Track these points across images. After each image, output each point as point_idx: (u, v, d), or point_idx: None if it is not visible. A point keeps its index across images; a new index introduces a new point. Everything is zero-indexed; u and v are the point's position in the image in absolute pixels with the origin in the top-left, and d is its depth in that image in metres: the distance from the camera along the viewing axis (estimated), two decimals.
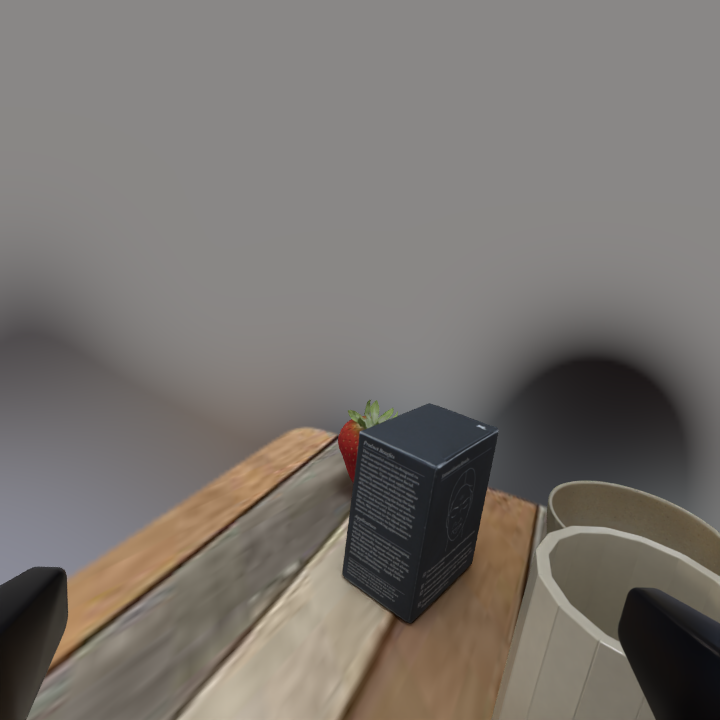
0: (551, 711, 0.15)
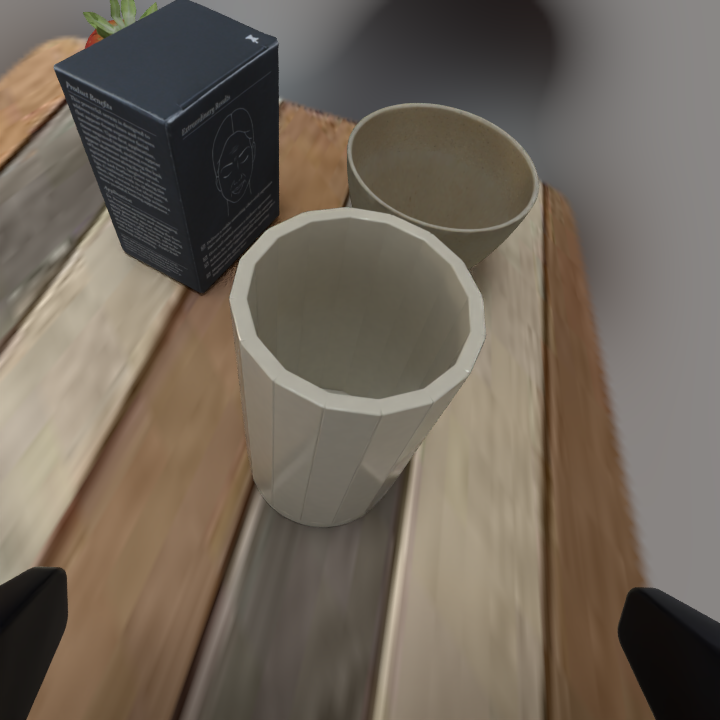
0: (259, 419, 0.15)
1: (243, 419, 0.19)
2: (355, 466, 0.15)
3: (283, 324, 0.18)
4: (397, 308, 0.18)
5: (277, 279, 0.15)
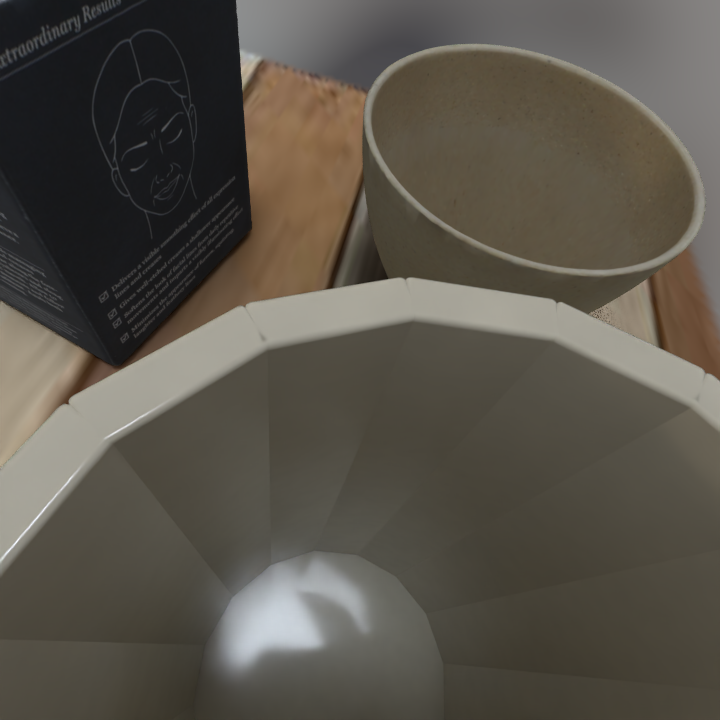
0: None
1: None
2: None
3: (217, 543, 0.07)
4: (510, 509, 0.07)
5: (161, 515, 0.05)
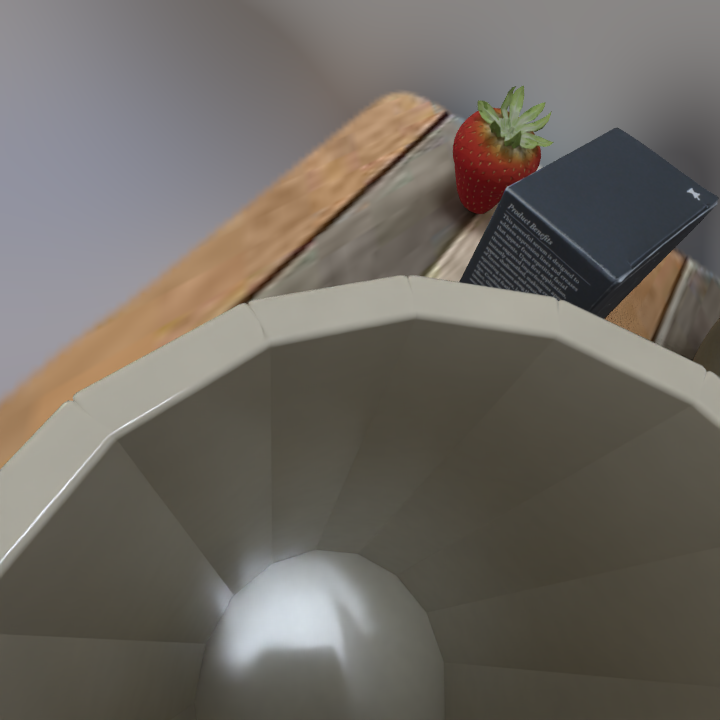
0: None
1: None
2: None
3: (218, 542, 0.07)
4: (511, 508, 0.07)
5: (164, 513, 0.05)
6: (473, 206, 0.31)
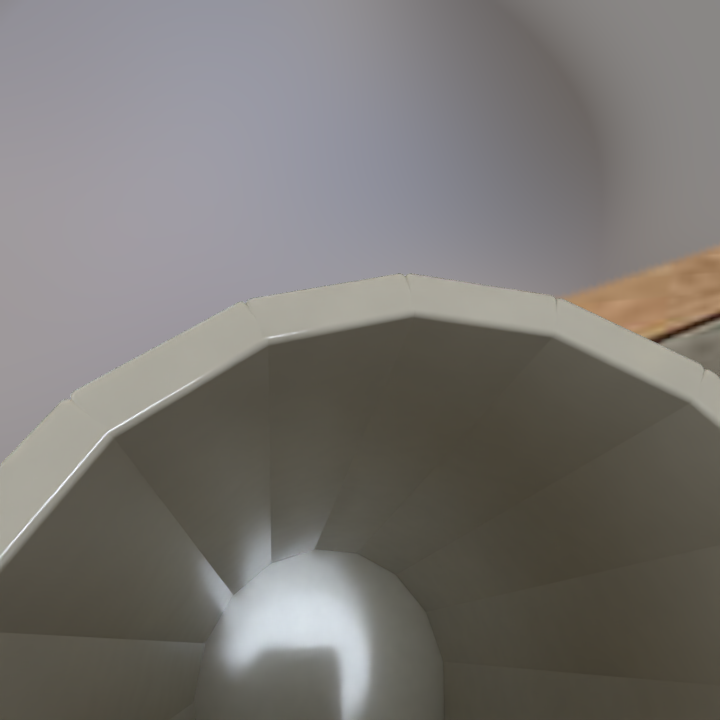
0: None
1: None
2: None
3: (217, 541, 0.07)
4: (510, 506, 0.07)
5: (162, 511, 0.05)
6: None
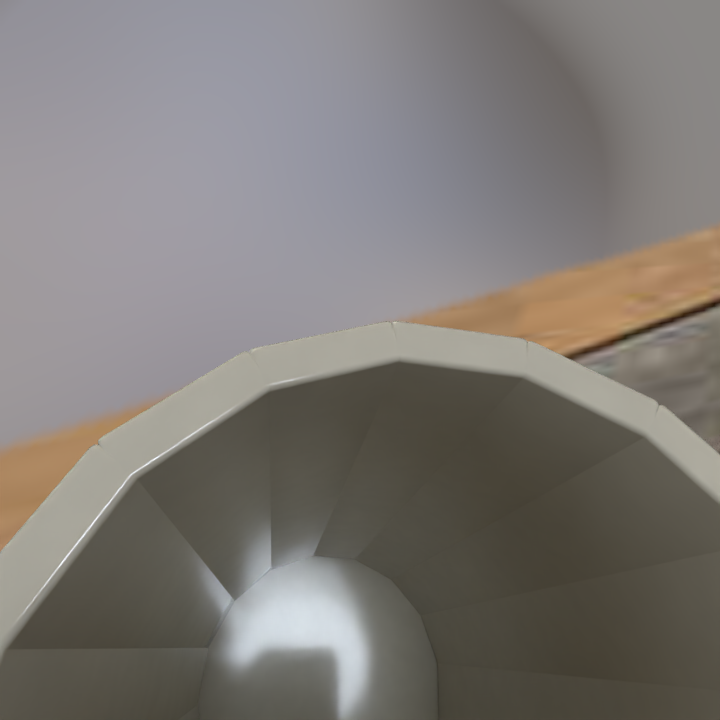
0: None
1: None
2: None
3: (221, 553, 0.08)
4: (495, 520, 0.07)
5: (174, 534, 0.05)
6: None
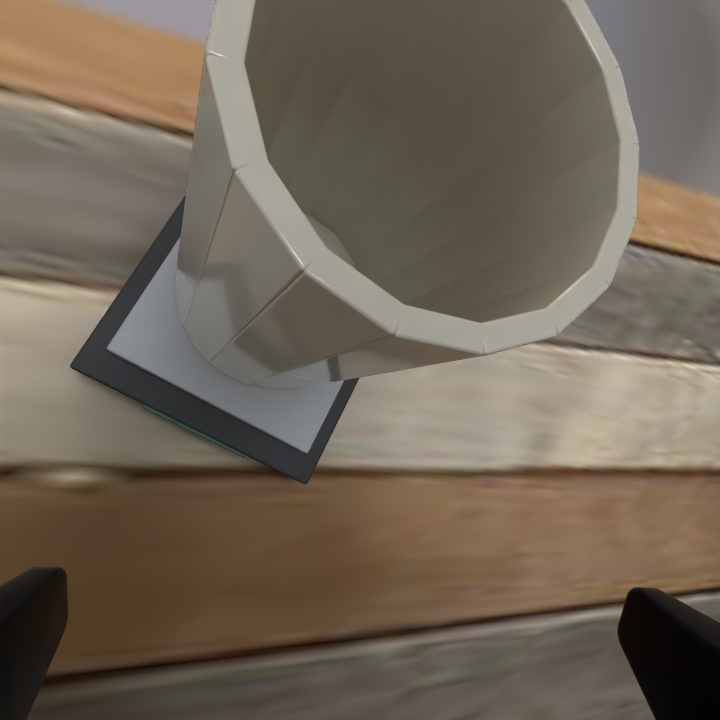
0: (196, 220, 0.09)
1: None
2: (306, 360, 0.10)
3: (304, 93, 0.11)
4: (476, 165, 0.11)
5: None
6: None
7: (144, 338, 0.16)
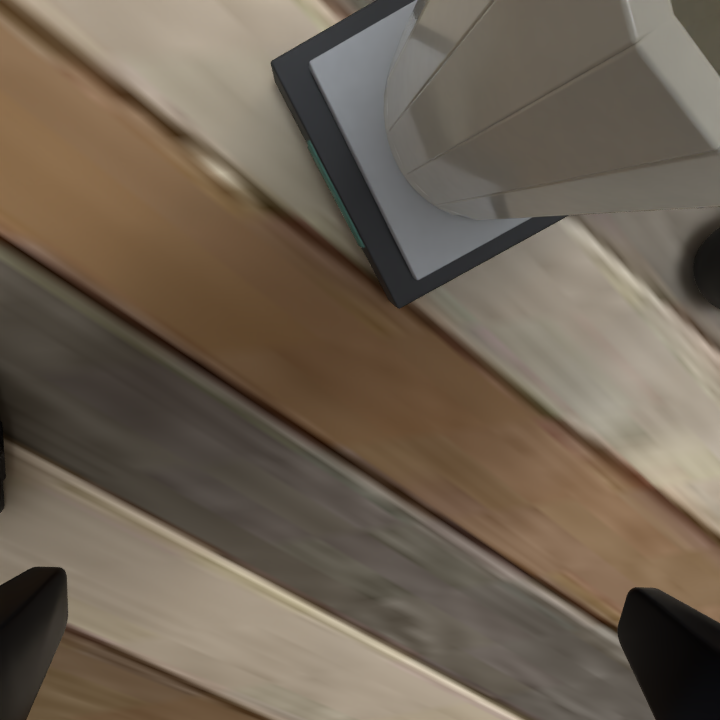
0: None
1: None
2: (491, 120, 0.08)
3: None
4: None
5: None
6: None
7: (345, 73, 0.15)
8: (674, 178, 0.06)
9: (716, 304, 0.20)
